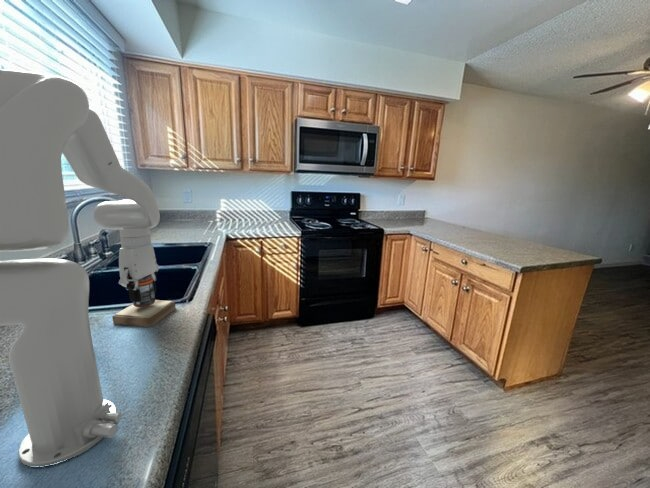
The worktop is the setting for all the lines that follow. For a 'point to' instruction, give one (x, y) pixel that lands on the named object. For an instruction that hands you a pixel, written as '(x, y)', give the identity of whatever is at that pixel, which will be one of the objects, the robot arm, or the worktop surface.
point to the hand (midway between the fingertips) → (143, 296)
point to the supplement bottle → (145, 292)
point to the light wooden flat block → (144, 314)
